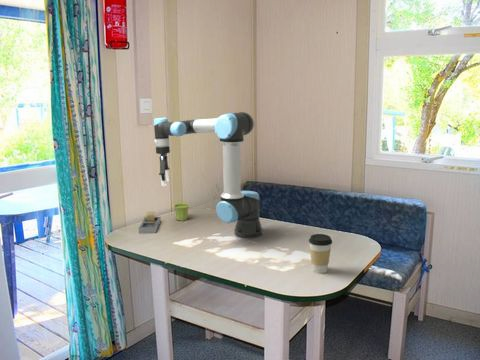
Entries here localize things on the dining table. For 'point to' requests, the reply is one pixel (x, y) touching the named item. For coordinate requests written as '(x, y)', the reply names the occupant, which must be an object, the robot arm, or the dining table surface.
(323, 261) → the coffee cup
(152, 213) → the yellow rectangular block
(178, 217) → the plant pot
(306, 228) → the dining table surface
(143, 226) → the grey double window frame
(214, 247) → the dining table surface
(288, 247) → the dining table surface
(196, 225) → the dining table surface
